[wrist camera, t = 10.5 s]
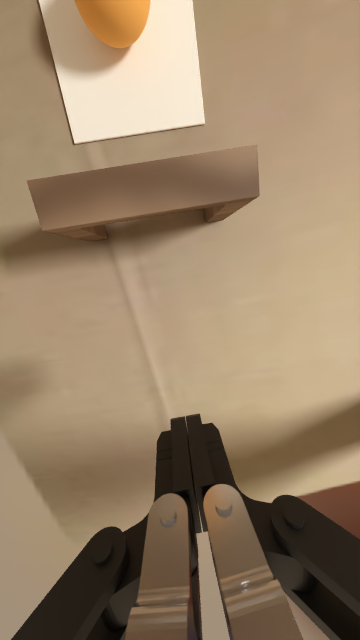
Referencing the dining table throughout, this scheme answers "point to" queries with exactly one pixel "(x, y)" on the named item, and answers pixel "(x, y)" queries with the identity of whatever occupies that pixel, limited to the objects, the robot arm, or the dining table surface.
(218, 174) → the bridge
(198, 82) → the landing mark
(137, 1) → the ball
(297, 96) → the dining table surface
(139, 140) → the dining table surface
